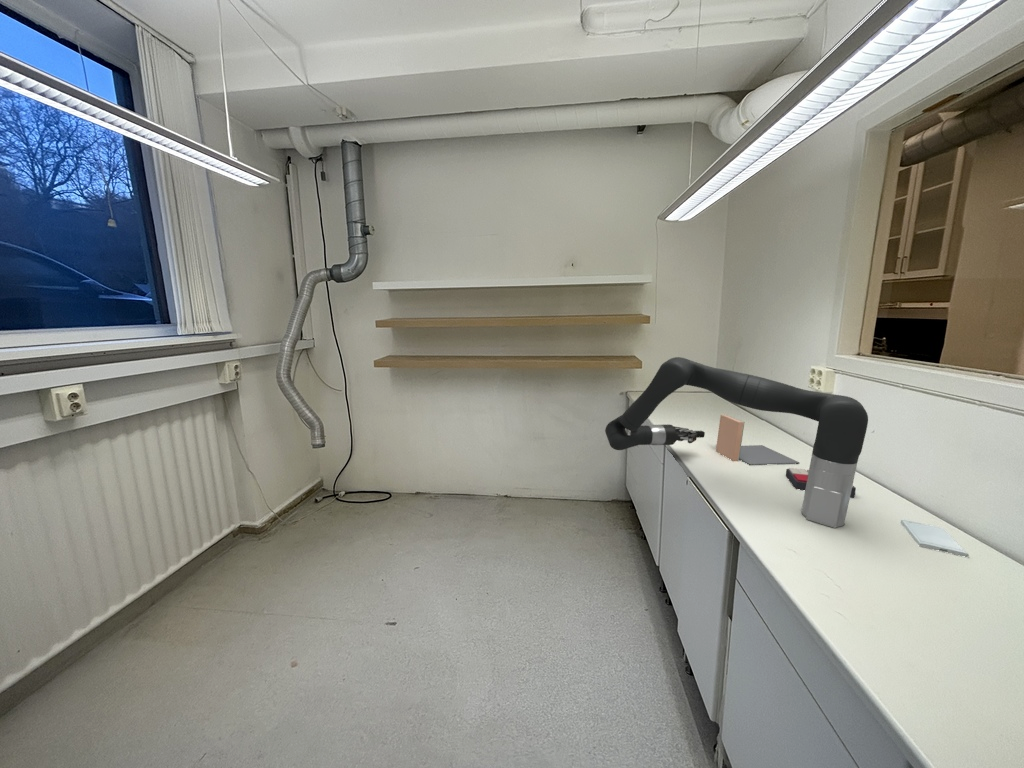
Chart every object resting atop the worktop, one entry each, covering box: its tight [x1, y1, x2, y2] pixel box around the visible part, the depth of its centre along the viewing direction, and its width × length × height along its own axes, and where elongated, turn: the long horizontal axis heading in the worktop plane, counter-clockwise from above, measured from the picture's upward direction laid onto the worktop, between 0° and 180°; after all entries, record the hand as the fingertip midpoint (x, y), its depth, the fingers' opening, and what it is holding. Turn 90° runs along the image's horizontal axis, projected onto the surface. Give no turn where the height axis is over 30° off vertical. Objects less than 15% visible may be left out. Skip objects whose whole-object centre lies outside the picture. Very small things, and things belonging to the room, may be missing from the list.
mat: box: [739, 444, 800, 466], centre depth 149 cm, size 20×18×1 cm
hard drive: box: [900, 519, 970, 558], centre depth 96 cm, size 2×8×12 cm
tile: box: [715, 414, 745, 462], centre depth 146 cm, size 2×10×15 cm, turn 8°
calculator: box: [785, 467, 857, 499], centre depth 123 cm, size 11×4×15 cm
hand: (703, 434), depth 144 cm, fingers closed
